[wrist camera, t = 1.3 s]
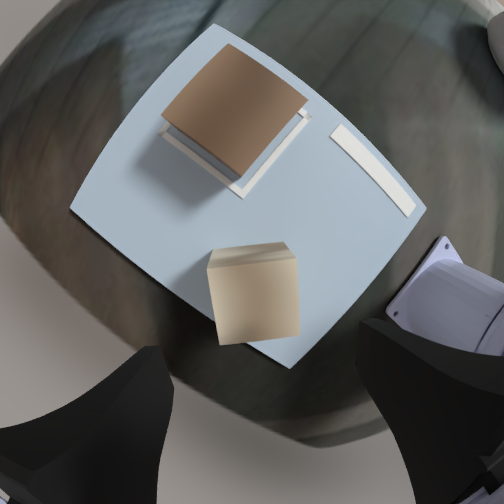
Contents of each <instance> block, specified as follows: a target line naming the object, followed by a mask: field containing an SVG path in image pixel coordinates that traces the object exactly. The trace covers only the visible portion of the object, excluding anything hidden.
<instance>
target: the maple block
mask: <svg viewBox="0 0 504 504" xmlns="http://www.w3.org/2000/svg"><path fill="white" fill-rule="evenodd" d="M207 275H208V281H209V287H210V293H211V299H212V305H213V311H214V316H215V322H216V327H217V333H218V338H219V343H220V345H227V344H237V343H246V342H255V341H263V340H271V339H279V338H286V337H292V336H299V335H300V314H299V291H298V272H297V258H296V257H295V255H294V254H293V253H292V252H291V250H290V249H289V248H288V247H287V245H286V244H285V243H284V242H283V241H282V242H273V243H264V244H255V245H246V246H238V247H229V248H220V249H213V251H212V254H211V257H210V260H209V263H208V266H207Z"/></svg>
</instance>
